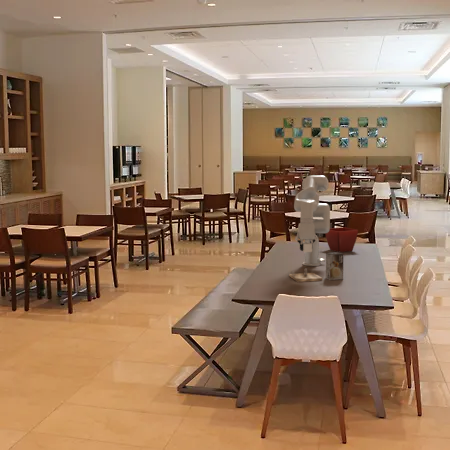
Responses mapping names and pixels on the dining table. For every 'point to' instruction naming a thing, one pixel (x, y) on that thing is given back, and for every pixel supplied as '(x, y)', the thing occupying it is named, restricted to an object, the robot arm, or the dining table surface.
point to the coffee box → (334, 266)
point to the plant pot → (341, 239)
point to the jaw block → (307, 247)
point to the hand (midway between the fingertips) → (306, 250)
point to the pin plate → (305, 276)
